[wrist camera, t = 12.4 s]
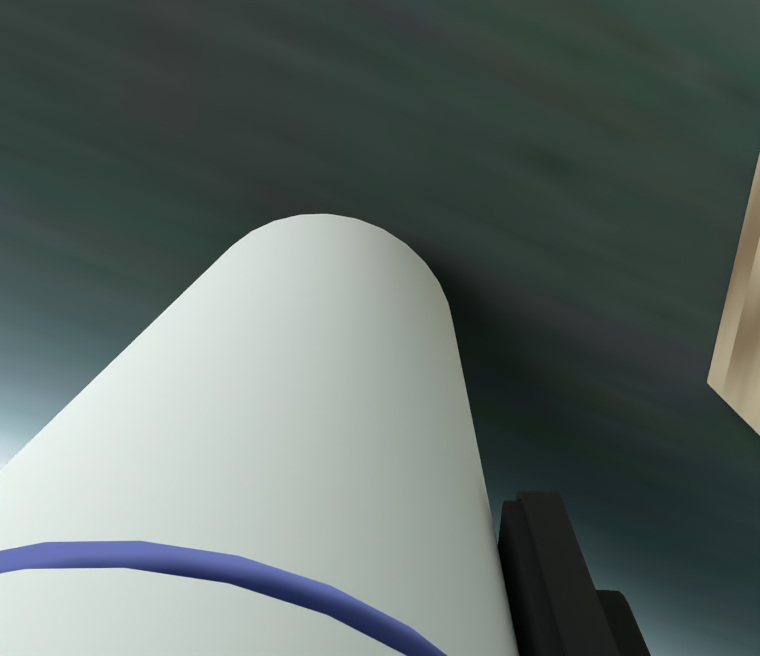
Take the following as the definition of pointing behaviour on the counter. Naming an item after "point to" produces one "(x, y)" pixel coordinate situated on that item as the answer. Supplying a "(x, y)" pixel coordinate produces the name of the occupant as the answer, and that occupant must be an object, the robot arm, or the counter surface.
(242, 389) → the cylindrical container
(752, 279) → the wooden box
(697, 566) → the counter surface
